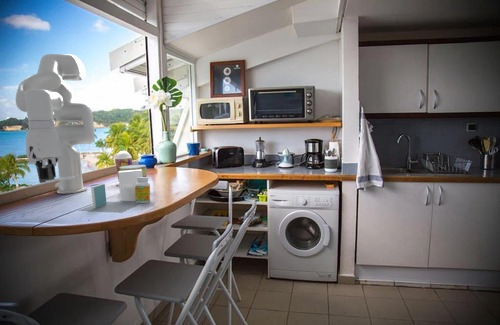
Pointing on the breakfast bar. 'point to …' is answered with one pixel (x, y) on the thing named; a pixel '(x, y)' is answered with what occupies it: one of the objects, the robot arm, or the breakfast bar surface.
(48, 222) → the breakfast bar surface
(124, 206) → the mat
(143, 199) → the supplement bottle
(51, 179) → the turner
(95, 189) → the tile
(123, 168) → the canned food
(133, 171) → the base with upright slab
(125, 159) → the smoothie
